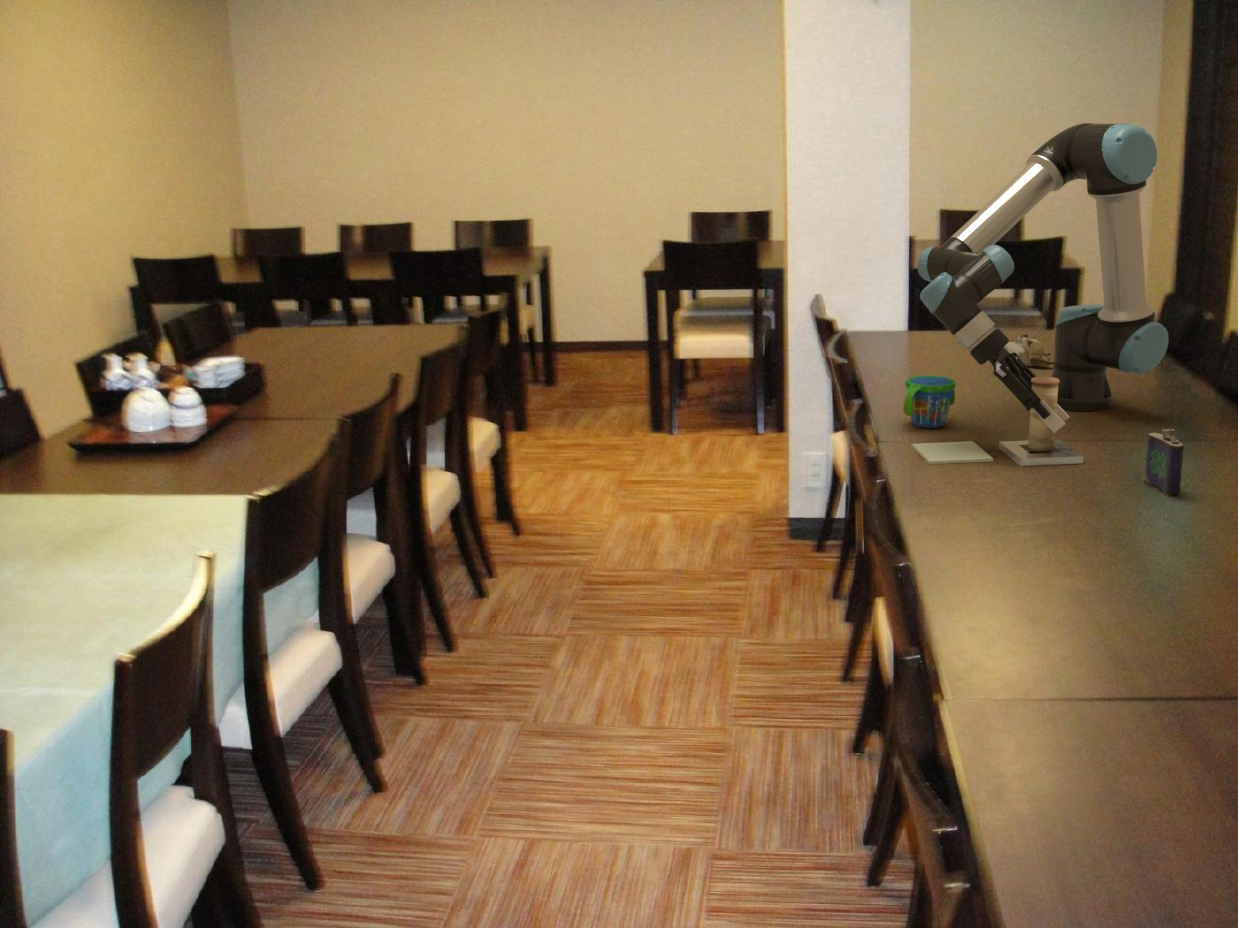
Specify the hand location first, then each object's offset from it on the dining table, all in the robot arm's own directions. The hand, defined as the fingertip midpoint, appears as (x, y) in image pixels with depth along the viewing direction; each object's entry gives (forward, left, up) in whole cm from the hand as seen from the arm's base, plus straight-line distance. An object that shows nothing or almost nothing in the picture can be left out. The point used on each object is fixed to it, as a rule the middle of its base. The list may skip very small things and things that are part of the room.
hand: (1061, 424), depth 257 cm
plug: (+3, -2, -5) cm, 6 cm away
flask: (-11, +22, -7) cm, 26 cm away
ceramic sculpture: (-24, -84, -7) cm, 87 cm away
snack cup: (+18, -29, -7) cm, 35 cm away
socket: (+3, -2, -7) cm, 8 cm away
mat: (+20, -6, -7) cm, 22 cm away
